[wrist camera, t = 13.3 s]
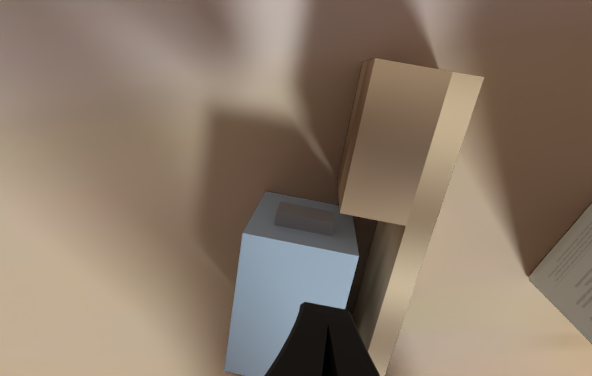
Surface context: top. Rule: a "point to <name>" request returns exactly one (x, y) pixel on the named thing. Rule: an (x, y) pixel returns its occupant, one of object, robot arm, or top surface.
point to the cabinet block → (286, 275)
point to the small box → (570, 275)
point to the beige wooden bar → (399, 181)
